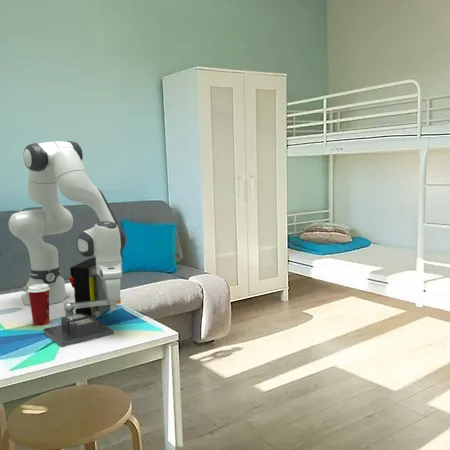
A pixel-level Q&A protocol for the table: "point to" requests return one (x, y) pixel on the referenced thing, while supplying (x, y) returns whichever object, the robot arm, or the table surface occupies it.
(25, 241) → the robot arm
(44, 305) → the paper cup
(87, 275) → the electrical component
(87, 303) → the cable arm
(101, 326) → the tray
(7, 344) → the table surface
